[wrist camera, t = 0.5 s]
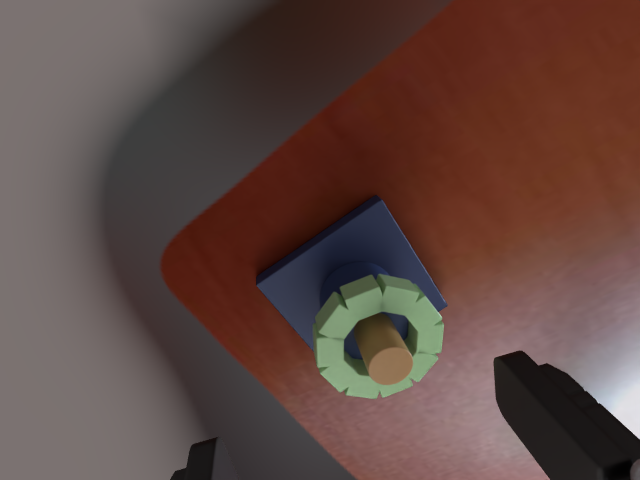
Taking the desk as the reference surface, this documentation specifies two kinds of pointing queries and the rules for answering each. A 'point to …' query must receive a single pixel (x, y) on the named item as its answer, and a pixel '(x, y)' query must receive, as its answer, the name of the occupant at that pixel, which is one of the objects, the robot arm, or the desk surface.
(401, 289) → the ring
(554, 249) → the desk surface
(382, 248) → the stand
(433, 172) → the desk surface
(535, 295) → the desk surface
